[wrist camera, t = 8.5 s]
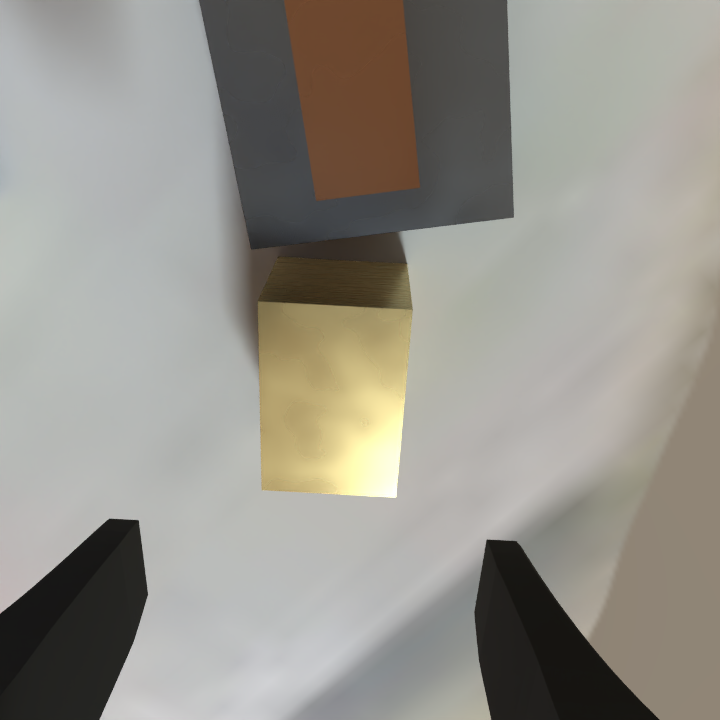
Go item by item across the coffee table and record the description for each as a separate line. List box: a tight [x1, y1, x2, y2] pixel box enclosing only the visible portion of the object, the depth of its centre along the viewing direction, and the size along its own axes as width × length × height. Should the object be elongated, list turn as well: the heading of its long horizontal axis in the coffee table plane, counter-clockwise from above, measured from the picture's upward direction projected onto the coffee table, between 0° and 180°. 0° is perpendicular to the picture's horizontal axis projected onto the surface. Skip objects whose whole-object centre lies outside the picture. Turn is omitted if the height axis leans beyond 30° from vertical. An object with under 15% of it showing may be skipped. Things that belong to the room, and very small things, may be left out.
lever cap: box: [258, 257, 413, 497], centre depth 20 cm, size 4×6×4 cm, turn 177°
